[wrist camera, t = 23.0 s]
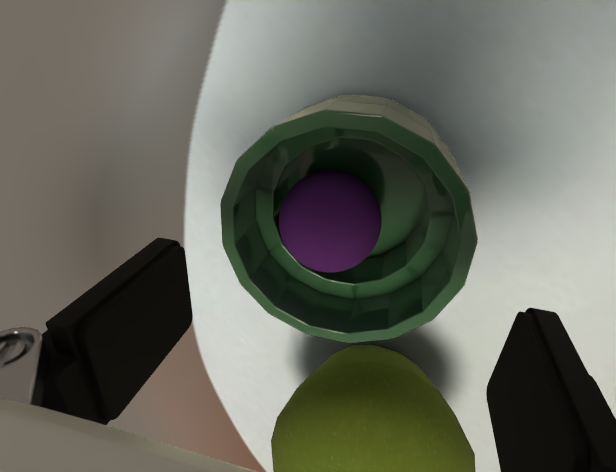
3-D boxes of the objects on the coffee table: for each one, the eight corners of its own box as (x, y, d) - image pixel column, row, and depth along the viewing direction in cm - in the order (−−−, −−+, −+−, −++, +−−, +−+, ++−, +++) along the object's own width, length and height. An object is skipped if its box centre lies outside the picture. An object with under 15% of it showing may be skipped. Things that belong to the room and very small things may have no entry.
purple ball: (318, 144, 20) (252, 182, 16) (406, 170, 17) (347, 220, 14) (318, 221, 23) (262, 266, 19) (393, 253, 20) (342, 310, 17)
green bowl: (266, 85, 19) (214, 98, 14) (479, 104, 17) (513, 128, 12) (264, 259, 24) (225, 318, 19) (431, 288, 22) (440, 362, 17)
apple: (290, 397, 29) (242, 546, 20) (312, 290, 24) (261, 426, 15) (430, 441, 28) (442, 620, 19) (483, 337, 23) (533, 515, 14)
